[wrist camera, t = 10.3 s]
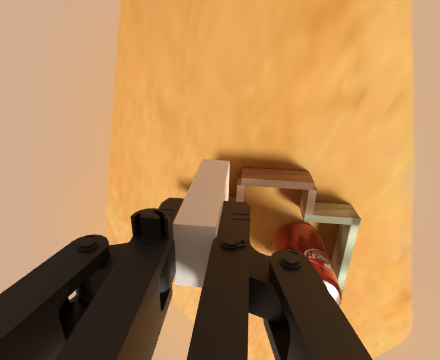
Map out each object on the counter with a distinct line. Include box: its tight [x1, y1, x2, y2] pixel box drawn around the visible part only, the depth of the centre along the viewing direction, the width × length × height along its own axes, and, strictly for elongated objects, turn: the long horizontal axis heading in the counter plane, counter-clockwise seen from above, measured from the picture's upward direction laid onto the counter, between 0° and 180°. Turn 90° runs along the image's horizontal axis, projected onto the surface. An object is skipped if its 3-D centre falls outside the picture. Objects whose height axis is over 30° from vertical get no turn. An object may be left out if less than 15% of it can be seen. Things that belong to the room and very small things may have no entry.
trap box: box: [228, 167, 361, 292], centre depth 43 cm, size 22×21×4 cm
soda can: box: [272, 223, 342, 306], centre depth 40 cm, size 7×7×12 cm
